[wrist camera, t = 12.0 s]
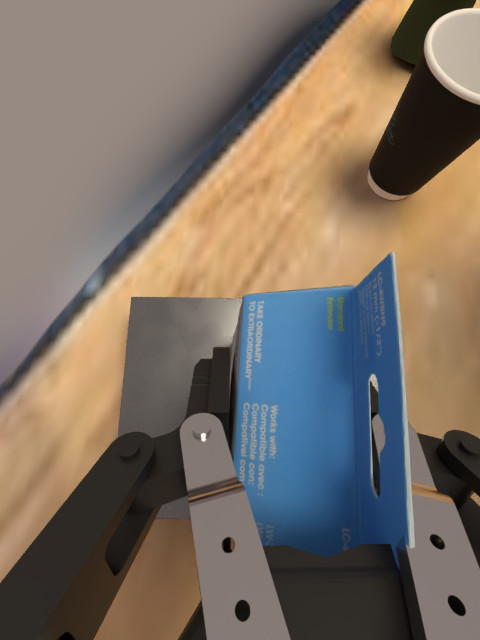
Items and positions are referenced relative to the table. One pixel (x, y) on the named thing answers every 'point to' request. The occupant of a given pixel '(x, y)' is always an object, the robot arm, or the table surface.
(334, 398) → the label tape box
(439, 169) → the dixie cup
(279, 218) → the table surface
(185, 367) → the brushed metal plate
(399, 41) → the character mug
